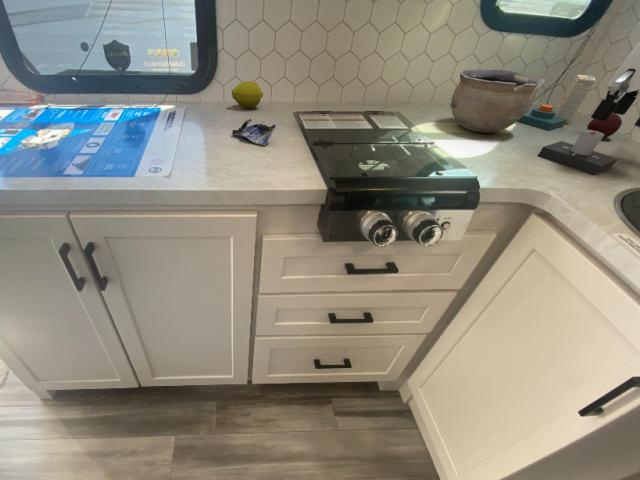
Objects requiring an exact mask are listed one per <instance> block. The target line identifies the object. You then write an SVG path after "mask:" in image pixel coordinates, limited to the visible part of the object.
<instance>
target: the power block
mask: <svg viewBox="0 0 640 480" xmlns="http://www.w3.org/2000/svg"><path fill="white" fill-rule="evenodd" d="M539 108H540V106H539V107H537V106H536V107H533V108H532V109H531V108H530V109H529V110H528V111H527V112H526V113H525V114H524V115H523V116H522V117H521V118H520V119H519V120H518V121H517V122H518V123H521V124H525V125H528V126H530V127H531V126H532V127H535V128H538V129H541V130H545V131H552V130H555V129H559V128H562V127H564V126H565V125H566V124H565V123H566V121H567V120H568V119H564V118H561V117H557V116H555V114H556V111H555V110H554V109H552V111H551V112H543V111H539V110H538V109H539Z"/></svg>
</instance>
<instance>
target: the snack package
mask: <svg viewBox="0 0 640 480" xmlns="http://www.w3.org/2000/svg"><path fill="white" fill-rule="evenodd" d="M253 120H255V119H253ZM251 123H252V118H249V119H246V120H245V121H244V122H243V123H242V125H241V126H240V127H239V128H238V129H232V133H231V135H232V136H238V137H241V138H247V139H248V140H249V141H251V142H253V143H254V144H257V145H262V146H264V147H266V145H267V143H269V141H270V139H271V137H272V135H273V133H274V130H275V129H276V124H272V125H271V126H268V125H266V124H262V123H265V122H262V123H260V124H259V123H255V124H252V125H249V124H251Z"/></svg>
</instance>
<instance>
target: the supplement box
mask: <svg viewBox="0 0 640 480" xmlns="http://www.w3.org/2000/svg"><path fill="white" fill-rule="evenodd" d="M596 82H597V79H596V78H595V77H594V76H592V75H586V74H576V76H575V77H574V80H573V81H572V83H571V85H570V86H569V88H568V89H567V91H566V92H565V94H564V95H563V97H562V99H561V101H560V102H559V104H558V105H557V106H556V109H555V110H554V111H556V114H555V116H557V117H561V118H564V119H568V120H567V121H566V123H565V124H564V125H568V124H569V123H570V121H571V120H572V118H573V117H574V115H575V114H576V113H577V111H578V110H579V108H580V106H581V105H582V103H583V102H584V100H585V98H586V97H587V96H588V94H589V93H590V91H591V89H592V88H593V87H594V86H595V83H596Z"/></svg>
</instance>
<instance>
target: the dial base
mask: <svg viewBox="0 0 640 480" xmlns="http://www.w3.org/2000/svg"><path fill="white" fill-rule="evenodd" d="M573 146H574V144H573V143H570V142H567V141H563V140H561V141H557V142H554V143H551V144H547V145H544V146H542V148H541V150H540V151H539V153H538V155H537V157H541V158H543V159H545V160H549V161H552V162H555V163H557V164H560V165H563V166H566V167H569V168H571V169H575V170H577V171H580V172H584V173H587V174H589V175H592V176H595V175H597V174H600V173H603V172H605V171H607V170H609V169H612V167H614V166H615V163H617V161H618V160H619V158H618V157H615V156H611V155H608V154H605V153H602V152H599V151H595V150H593V151H592V153H591V154H590V155H579V154H576V153H573V152H572V151H571V148H572V147H573Z"/></svg>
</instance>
